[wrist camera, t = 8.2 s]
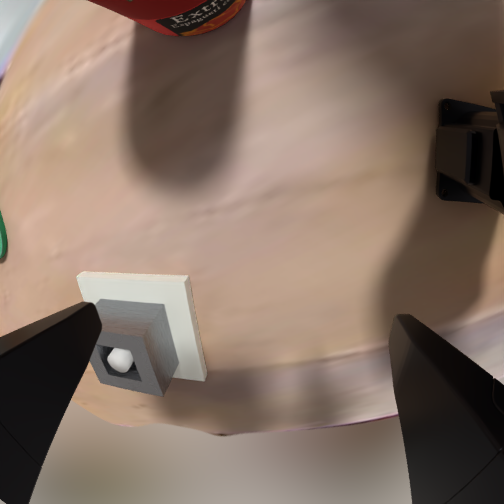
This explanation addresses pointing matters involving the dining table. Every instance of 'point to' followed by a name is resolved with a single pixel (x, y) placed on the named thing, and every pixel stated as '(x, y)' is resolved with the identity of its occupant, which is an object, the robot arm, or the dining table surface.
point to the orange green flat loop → (2, 237)
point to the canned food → (176, 14)
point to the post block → (153, 291)
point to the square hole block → (135, 346)
